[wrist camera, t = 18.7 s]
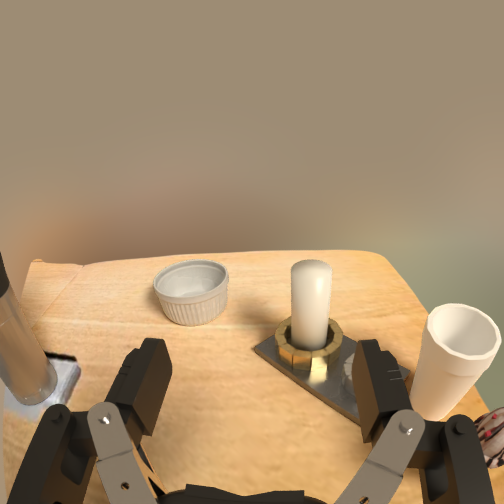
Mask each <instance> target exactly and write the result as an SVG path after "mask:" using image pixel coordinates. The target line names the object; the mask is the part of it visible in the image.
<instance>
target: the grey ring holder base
mask: <svg viewBox="0 0 504 504" xmlns="http://www.w3.org/2000/svg"><path fill="white" fill-rule="evenodd" d="M356 346H357V342H355V341H354V340H352V339H350V338H348V337H346V336H344V335H343V331H342V330H341V328H340V327H339V325H338V324H337V322H336V321H334V320H332V319H330V318H329V319H328V329H327V339H326V348H325V349H321V350H317V351H313V352H309V351H302V350H297V349H295V348H294V347H292V346H291V316H290V317H289V318H287V319H286V320H284V321H283V322H281V323H280V324H279V326H278V328H277V330H276V333H275V335H273V336H271V337H270V338H268V339H267V340H265V341H264V342H262V343H260V344H259V345H257V346H256V347H255V353H257V354H258V355H259V356H261V357H262V358H263V359H265V360H266V361H267V362H269V363H270V364H271V365H273V366H274V367H275V368H277V369H278V370H279V371H281V372H282V373H283V374H285V375H286V376H288V377H289V378H290V379H292V380H293V381H294V382H296V383H297V384H299V385H300V386H301V387H303V388H304V389H306V390H307V391H309V392H310V393H311V394H313V395H314V396H316V397H317V398H319V399H320V400H322V401H323V402H324V403H326V404H327V405H329V406H330V407H332V408H333V409H335V410H336V411H338V412H339V413H341V414H342V415H344V416H345V417H347V418H349V419H350V420H352V421H353V422H355V423H356V424H358V425H359V426H361V425H360V419H359V413H358V408H357V403H356V397H355V392H354V387H353V382H352V375H351V369H352V363H353V359H354V355H355V350H356ZM398 366H399V371H400V372H401V375H402V379H403V380H404V381H405V380H406V379H407V377H408V376H409V373H410V370H408V369H406V368H404V367H402V366H400V365H399V364H398Z"/></svg>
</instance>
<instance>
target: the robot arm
mask: <svg viewBox="0 0 504 504" xmlns="http://www.w3.org/2000/svg"><path fill="white" fill-rule="evenodd" d="M171 375H172V363H171V360H170V357H169V354H168V351H167V347H166V344H165V341H164V340H163V339H156V338H145V339H144V341H143V343H142V345H141V347H140V349H137V348H135V349H133V350H132V351H131V352H130V353H129V354H128V355H127V356H126V358H125V360H124V362H123V364H122V367H121V368H120V370H119V372H118V374H117V376H116V378H115V380H114V382H113V384H112V386H111V388H110V391H109V393H108V395H107V397H106V399H105V401H104V402H101V403H98V404H96V405H94V406H93V407H92V408H91V409H90V410H89V411H83V412H71V411H70V410H69V409H68V408H67V407H66V406H65V405H63V404H55V405H52V406H50V407H49V408H48V409H47V410H46V411H45V413H44V415H43V417H42V419H41V421H40V423H39V425H38V427H37V429H36V432H35V434H34V436H33V438H32V440H31V443H30V445H29V447H28V450H27V452H26V454H25V457H24V459H23V461H22V464H21V466H20V469H19V471H18V474H17V476H16V479H15V482H14V484H13V487H12V490H11V493H10V495H9V498H8V501H7V504H83V500H84V497H85V493H86V490H87V486H88V483H89V480H90V476H91V473H92V470H93V467H94V464H95V460H96V457H97V456H98V457H99V461H97V462H96V466H97V470H98V472H99V475H100V478H101V481H102V484H103V486H104V489H105V492H106V494H107V497H108V499H109V502H110V504H327V503H325V502H323V501H321V500H319V499H316V498H312V497H309V496H304V490H299V491H272V492H267V493H261V494H256V495H250V496H240V495H236V494H233V493H230V492H227V491H224V490H221V489H217V488H215V487H206V486H199V485H192V484H186V488H185V489H184V490H177V491H173V492H169V493H168V492H167V490H166V488H165V487H164V485H163V484H162V482H161V481H160V479H159V478H158V476H157V474H156V472H155V470H154V468H153V466H152V464H151V462H150V460H149V458H148V456H147V454H146V452H145V450H144V448H143V445H142V443H141V442H140V441H141V438H142V435H147V436H152V433H153V430H154V427H155V424H156V421H157V418H158V415H159V412H160V409H161V406H162V403H163V399H164V396H165V393H166V391H167V388H168V385H169V382H170V379H171ZM351 375H352V382H353V387H354V392H355V397H356V403H357V408H358V413H359V419H360V425H361V430H362V436H363V442H364V443H369V442H372V447H373V449H372V451H371V453H370V454H369V456H368V457H367V459H366V460H365V462H364V463H363V465H362V466H361V468H360V469H359V471H358V472H357V473H356V475H355V476H354V478H353V479H352V481H351V482H350V483H349V485H348V486H347V487H346V489H345V490H344V491H343V493H342V494H341V495H340V497H339V498H338V499H337V500H336V502H335V503H334V504H388V503H389V502H390V500H391V498H392V497H393V495H394V493H395V492H396V490H397V488H398V487H399V485H400V483H401V481H402V479H403V473H404V471H405V469H406V468H417V469H419V474H420V481H421V489H422V496H423V504H495V501H494V496H493V491H492V486H491V481H490V477H489V473H488V469H487V465H486V461H485V457H484V454H483V450H482V446H481V443H480V440H479V436H478V433H477V430H476V427H475V424H474V422H473V421H472V420H471V419H470V418H469V417H467V416H465V415H461V414H458V415H454V416H452V417H450V418H449V419H448V420H447V422H439V421H429V420H425V419H423V417H422V416H421V415H420V414H419V413H417V412H416V411H414V410H413V408H412V405H411V402H410V399H409V395H408V392H407V389H406V386H405V383H404V380H403V379H402V375H401V372H400V371H399V366H398V363H397V361H396V359H395V357H394V356H393V355H392V354H391V353H390V352H389V351H381V350H380V347H379V344H378V341H377V340H376V339H372V340H359V341H358V342H357V346H356V350H355V355H354V359H353V363H352V369H351ZM0 377H1V379H2V380H3V382H4V383H5V384H6V386H7V387H8V389H9V390H10V391H11V393H12V394H13V395H14V396H15V398H16V399H17V400H18V401H19V402H20V403H22V404H24V405H34V404H38V403H40V402H42V401H44V400H45V399H46V398H48V397H49V396H50V394H51V393H52V392H53V390H54V389H55V386H56V383H57V374H56V372H55V370H54V369H53V367H52V365H51V364H50V362H49V360H48V359H47V357H46V355H45V353H44V351H43V350H42V348H41V346H40V344H39V342H38V341H37V339H36V337H35V335H34V333H33V331H32V329H31V327H30V325H29V323H28V321H27V319H26V317H25V315H24V313H23V311H22V309H21V307H20V305H19V302H18V300H17V298H16V296H15V294H14V292H13V289H12V287H11V284H10V282H9V279H8V277H7V274H6V271H5V267H4V264H3V260H2V256H1V253H0Z"/></svg>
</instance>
